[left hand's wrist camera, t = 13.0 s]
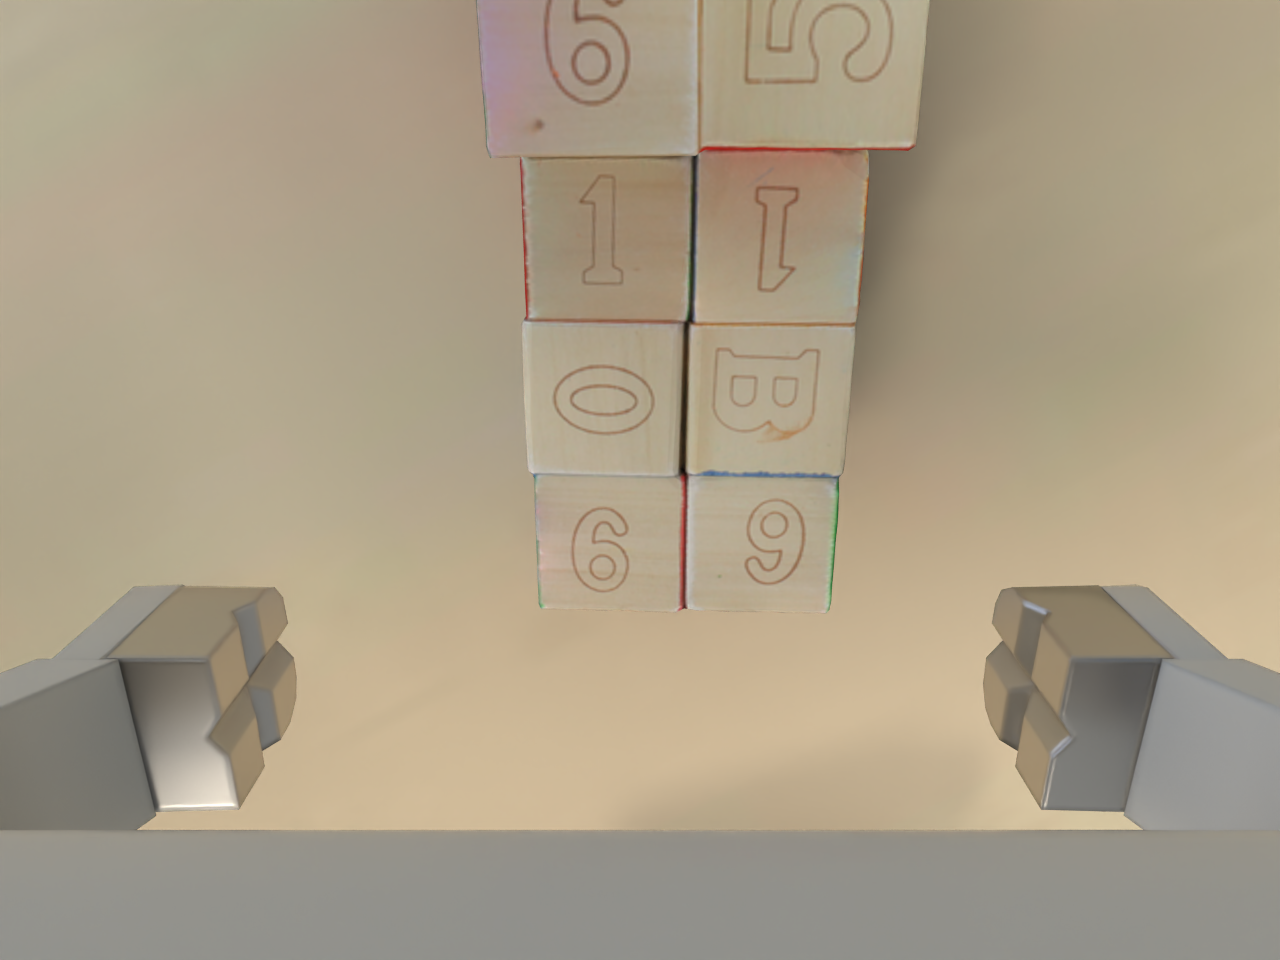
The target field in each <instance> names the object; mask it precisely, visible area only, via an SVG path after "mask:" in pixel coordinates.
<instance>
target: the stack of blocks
mask: <svg viewBox="0 0 1280 960" xmlns="http://www.w3.org/2000/svg"><path fill="white" fill-rule="evenodd" d="M476 7H477V20H478V34H479V49H480V64H481V77H482V89H483V101H484V113H485V125H486V147H487V150H488V153H489V156H490V158H501V157H520V170H521V193H522V219H523V243H524V270H525V298H526V317H525V319H524V321H523V323H522V355H523V390H524V410H525V429H526V447H527V466H528V469H529V471H530V473H532V474H533V476H534V478H535V519H536V544H537V566H538V594H539V605H540V608H541V609H568V610H619V611H641V612H678V611H680V610H682V609H684V608H686V609H693V610H705V611H736V612H781V613H788V612H795V613H827V612H828V611H829V608H830V604H831V595H832V581H833V569H834V556H835V542H836V533H837V523H838V502H839V476H840V475H842V474H843V470H844V463H845V454H846V441H847V430H848V418H849V406H850V394H851V382H852V370H853V357H854V348H855V335H856V333H855V323H856V319H857V315H858V310H859V304H860V288H861V280H862V268H863V255H864V238H865V223H866V210H867V197H868V185H869V154H868V150H905V151H908V150H910V149H911V148H913V147H915V146H916V140H917V131H918V122H919V111H920V100H921V89H922V78H923V68H924V58H925V47H926V37H927V27H928V17H929V7H930V0H476Z"/></svg>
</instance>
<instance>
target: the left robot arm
mask: <svg viewBox="0 0 1280 960" xmlns="http://www.w3.org/2000/svg"><path fill="white" fill-rule="evenodd" d="M287 624H288V621H287V616H286V611H285V606H284V601H283V597H282V596H281V594H280V593H279V592H278V591H277V590H276V588H275V587H221V586H184V585H161V586H138V587H133V588H132V589H131V590H130V591H128V592H127V593H126V594H125V595H124V596H123V597H122V598H120V599H119V600H118V601H117V602H116V603H115V604H114V605H113V606H111V607H110V608H109V609H108V610H107V611H106V612H105V613H103V614H102V615H101V616H100V617H99V618H98V619H97V620H96V621H94V622H93V623H92V624H91V625H90V626H89V627H88V628H86V629H85V630H84V631H83V632H82V633H81V634H80V635H79V636H77V637H76V638H75V639H74V640H73V641H72V642H71V643H69V644H68V645H67V646H66V647H65V648H64V649H63V650H62V651H60V652H59V653H58V654H57V655H56V656H55V657H54V658H52V659H36V660H33V661H31V662H28V663H26V664H23V665H20V666H18V667H15V668H13V669H10V670H7V671H5V672H2V673H0V960H1280V673H1278V672H1275V671H1272V670H1270V669H1267V668H1265V667H1262V666H1260V665H1257V664H1254V663H1252V662H1249V661H1247V660H1244V659H1228V658H1226V657H1225V656H1224V655H1223V654H1222V653H1221V652H1220V651H1219V650H1217V649H1216V648H1215V647H1214V646H1213V645H1212V644H1211V643H1210V642H1208V641H1207V640H1206V639H1205V638H1204V637H1203V636H1202V635H1200V634H1199V633H1198V632H1197V631H1196V630H1195V629H1194V628H1193V627H1191V626H1190V625H1189V624H1188V623H1187V622H1186V621H1185V620H1184V619H1182V618H1181V617H1180V616H1179V615H1178V614H1177V613H1176V612H1174V611H1173V610H1172V609H1171V608H1170V607H1169V606H1168V605H1167V604H1165V603H1164V602H1163V601H1162V600H1161V599H1160V598H1159V597H1158V596H1156V595H1155V594H1154V593H1153V592H1152V591H1151V590H1150V589H1149V588H1147V587H1143V586H1139V585H1118V586H1099V585H1095V586H1053V587H1012V588H1008V589H1003V590H1001V592H1000V594H999V597H998V599H997V601H996V604H995V609H994V615H993V620H992V624H993V626H994V627H995V629H996V630H997V632H998V633H999V635H1000V637H1001V638H1002V640H1003V641H1002V642H1001V643H1000V644H999V645H998V646H997V647H996V648H995V649H994V650H993V651H992V652H991V653H990V654H989V655H988V656H987V658H986V665H985V673H984V681H983V688H984V699H985V708H986V711H987V714H988V717H989V721H990V724H991V726H992V728H993V729H994V731H995V733H996V735H997V737H998V738H999V740H1001V741H1002V742H1004V743H1006V744H1007V745H1009V746H1011V747H1012V748H1014V749H1015V750H1017V751H1018V754H1017V760H1016V765H1015V767H1016V769H1017V770H1018V772H1019V774H1020V775H1021V777H1022V779H1023V780H1024V782H1025V784H1026V785H1027V787H1028V789H1029V790H1030V792H1031V794H1032V795H1033V797H1034V799H1035V800H1036V802H1037V804H1038V805H1039V807H1040V809H1041V810H1075V811H1112V812H1124V816H1125V817H1127V818H1128V819H1129V820H1131V821H1132V822H1134V823H1135V824H1136V825H1138V826H1139V827H1140V828H1142V829H1143V830H137V829H138V828H140V827H141V826H143V825H144V824H145V823H147V822H148V821H149V820H151V819H152V818H154V817H155V816H156V812H167V811H203V810H239V809H240V807H241V805H242V804H243V802H244V800H245V799H246V797H247V795H248V794H249V792H250V790H251V789H252V787H253V785H254V784H255V782H256V780H257V779H258V777H259V775H260V774H261V772H262V770H263V769H264V767H265V765H264V760H263V754H262V751H263V750H265V749H266V748H268V747H269V746H271V745H273V744H274V743H276V742H278V741H279V740H281V738H282V736H283V735H284V733H285V731H286V729H287V727H288V726H289V724H290V722H291V718H292V713H293V709H294V705H295V701H296V670H295V664H294V658H293V656H292V655H291V654H290V653H289V652H288V651H287V650H286V649H285V648H284V647H283V646H282V645H281V644H280V643H279V642H278V641H277V640H278V638H279V637H280V635H281V633H282V632H283V630H284V629H285V627H286V626H287Z"/></svg>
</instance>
